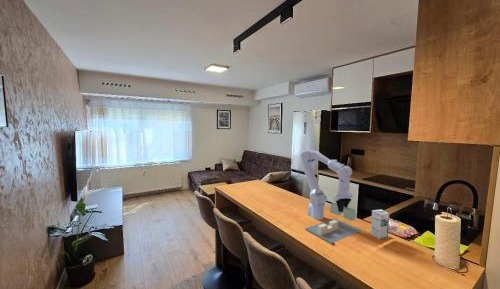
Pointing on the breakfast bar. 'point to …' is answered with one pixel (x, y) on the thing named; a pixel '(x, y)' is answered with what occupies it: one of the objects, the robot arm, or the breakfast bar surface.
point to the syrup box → (380, 224)
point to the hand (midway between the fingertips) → (342, 210)
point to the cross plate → (347, 212)
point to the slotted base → (336, 233)
